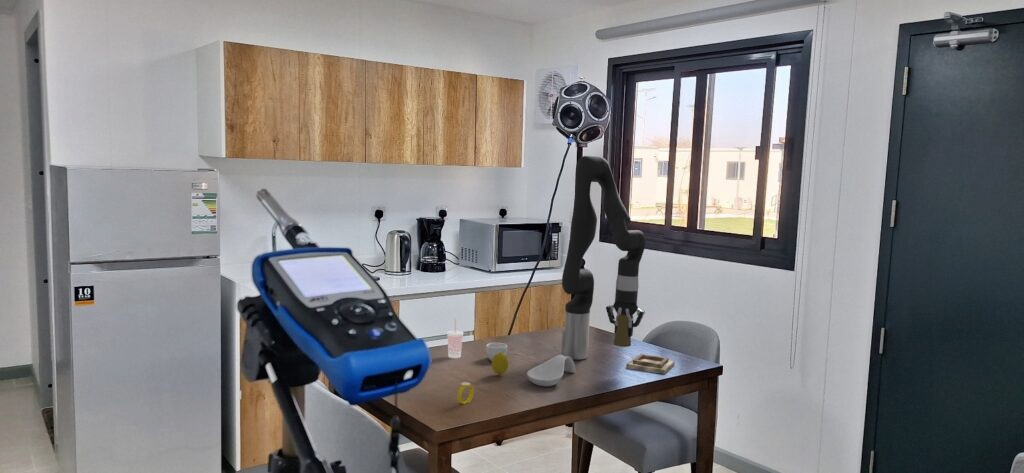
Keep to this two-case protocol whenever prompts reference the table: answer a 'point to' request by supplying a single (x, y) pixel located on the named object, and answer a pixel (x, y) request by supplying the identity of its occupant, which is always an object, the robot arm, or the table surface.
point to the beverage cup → (454, 343)
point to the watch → (463, 385)
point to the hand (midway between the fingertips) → (623, 336)
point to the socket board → (650, 363)
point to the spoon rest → (551, 371)
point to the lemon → (500, 363)
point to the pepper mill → (622, 332)
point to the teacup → (495, 349)
